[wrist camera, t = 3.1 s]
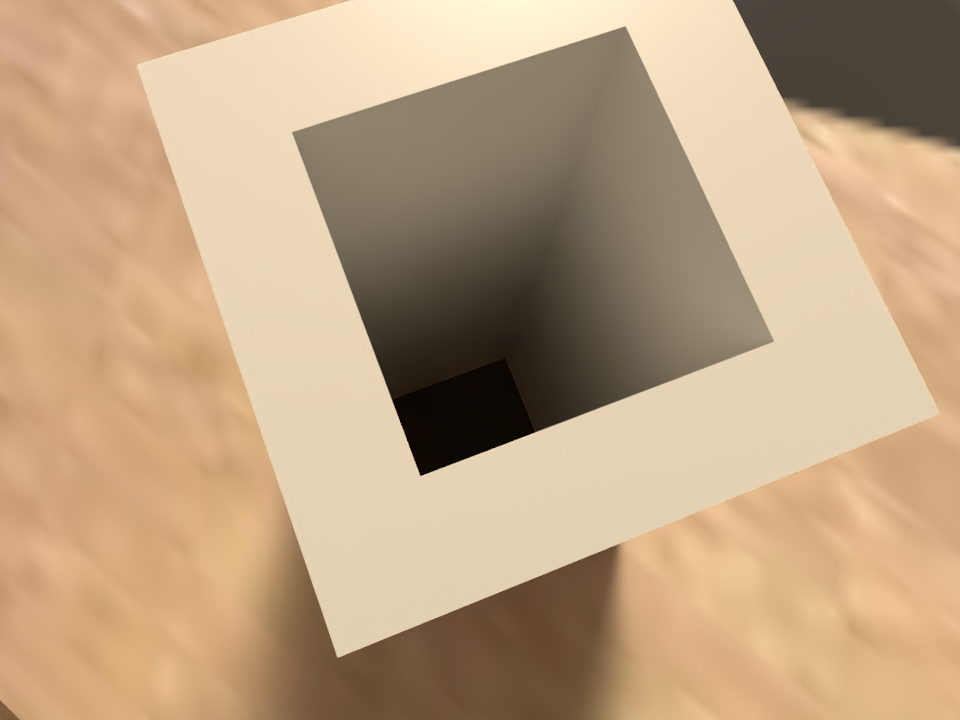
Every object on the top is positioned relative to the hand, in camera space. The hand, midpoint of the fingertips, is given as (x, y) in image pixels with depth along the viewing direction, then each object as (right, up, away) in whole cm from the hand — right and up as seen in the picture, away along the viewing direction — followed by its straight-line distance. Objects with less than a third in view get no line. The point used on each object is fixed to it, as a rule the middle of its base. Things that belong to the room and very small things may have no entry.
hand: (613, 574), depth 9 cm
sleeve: (-2, 0, +10) cm, 10 cm away
